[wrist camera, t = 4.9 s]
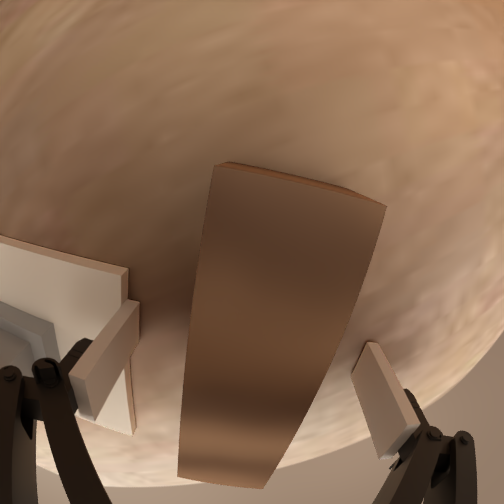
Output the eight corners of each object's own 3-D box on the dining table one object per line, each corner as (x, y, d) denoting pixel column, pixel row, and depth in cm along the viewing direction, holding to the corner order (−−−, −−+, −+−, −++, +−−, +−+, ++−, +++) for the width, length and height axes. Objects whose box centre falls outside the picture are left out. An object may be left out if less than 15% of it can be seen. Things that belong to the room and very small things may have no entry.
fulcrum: (-38, 223, 14) (-120, 263, 5) (128, 268, 15) (26, 379, 6) (-6, 364, 18) (-54, 419, 10) (136, 427, 19) (103, 518, 10)
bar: (229, 161, 13) (214, 165, 8) (344, 187, 13) (386, 206, 9) (189, 422, 19) (177, 476, 14) (262, 434, 19) (262, 489, 14)
